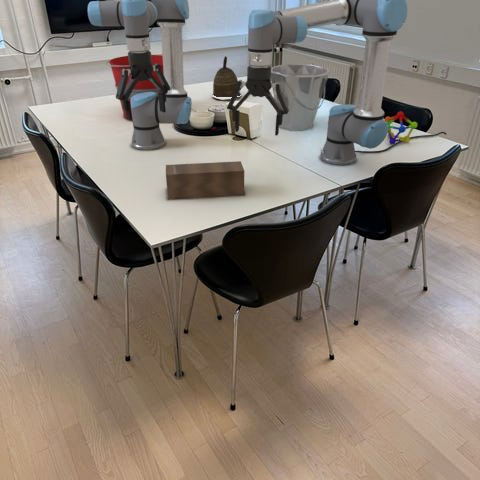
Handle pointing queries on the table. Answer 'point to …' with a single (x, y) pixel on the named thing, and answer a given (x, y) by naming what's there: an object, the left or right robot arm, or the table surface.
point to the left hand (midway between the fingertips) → (146, 115)
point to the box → (205, 180)
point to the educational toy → (399, 128)
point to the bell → (225, 82)
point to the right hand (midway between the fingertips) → (256, 132)
